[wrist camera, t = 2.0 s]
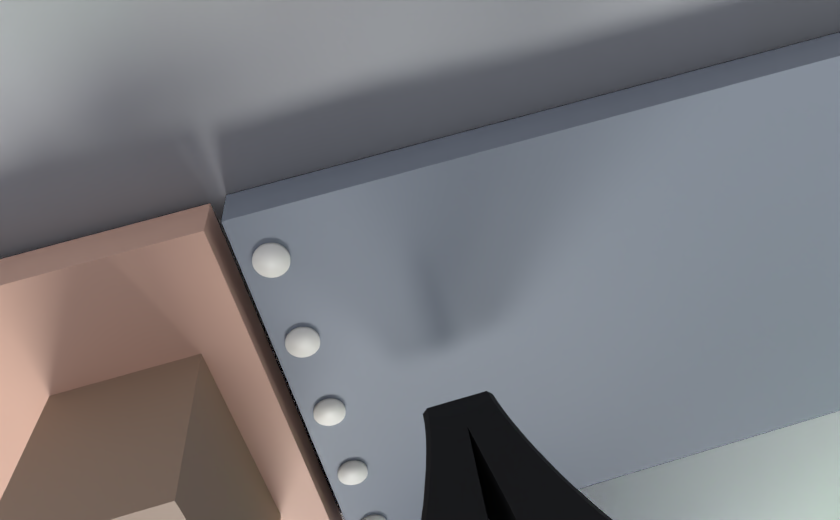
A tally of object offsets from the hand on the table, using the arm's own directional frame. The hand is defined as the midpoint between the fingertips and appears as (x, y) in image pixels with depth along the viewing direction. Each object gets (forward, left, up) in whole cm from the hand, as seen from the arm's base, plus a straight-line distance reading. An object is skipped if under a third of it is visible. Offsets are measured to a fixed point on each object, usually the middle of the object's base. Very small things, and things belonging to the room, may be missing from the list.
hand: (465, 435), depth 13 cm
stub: (0, +8, -3) cm, 8 cm away
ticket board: (0, -4, -3) cm, 5 cm away
